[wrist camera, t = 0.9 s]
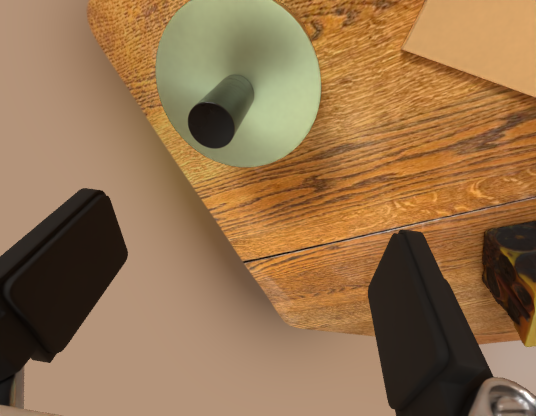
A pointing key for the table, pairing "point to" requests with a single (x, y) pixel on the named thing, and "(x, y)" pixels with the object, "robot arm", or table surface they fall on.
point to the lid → (238, 80)
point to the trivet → (480, 39)
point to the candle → (513, 275)
